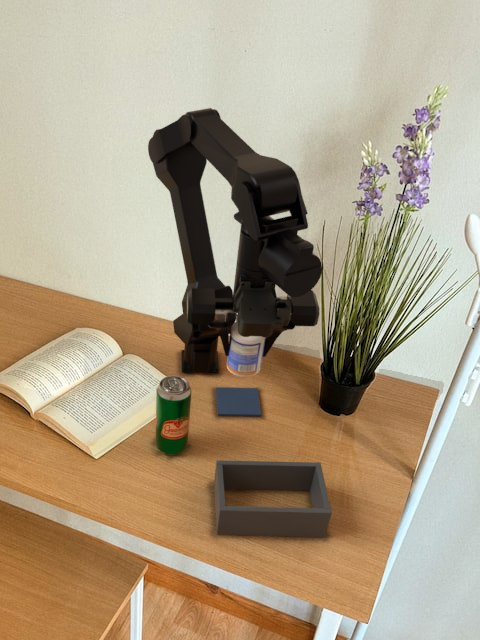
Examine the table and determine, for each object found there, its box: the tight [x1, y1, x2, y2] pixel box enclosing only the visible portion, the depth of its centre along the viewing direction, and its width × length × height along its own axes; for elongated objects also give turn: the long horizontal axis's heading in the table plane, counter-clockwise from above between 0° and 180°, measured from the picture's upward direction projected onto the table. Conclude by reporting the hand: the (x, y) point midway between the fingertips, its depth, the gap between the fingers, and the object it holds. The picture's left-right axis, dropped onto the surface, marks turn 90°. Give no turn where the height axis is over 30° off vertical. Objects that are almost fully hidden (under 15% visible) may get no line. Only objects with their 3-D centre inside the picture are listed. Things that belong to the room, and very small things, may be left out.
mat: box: [215, 387, 262, 418], centre depth 115 cm, size 7×7×1 cm
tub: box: [213, 459, 332, 538], centre depth 96 cm, size 10×15×5 cm, turn 87°
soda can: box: [154, 375, 192, 456], centre depth 104 cm, size 5×5×12 cm
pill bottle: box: [226, 313, 266, 378], centre depth 106 cm, size 5×5×10 cm
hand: (244, 354), depth 107 cm, fingers closed on pill bottle, 5 cm apart
